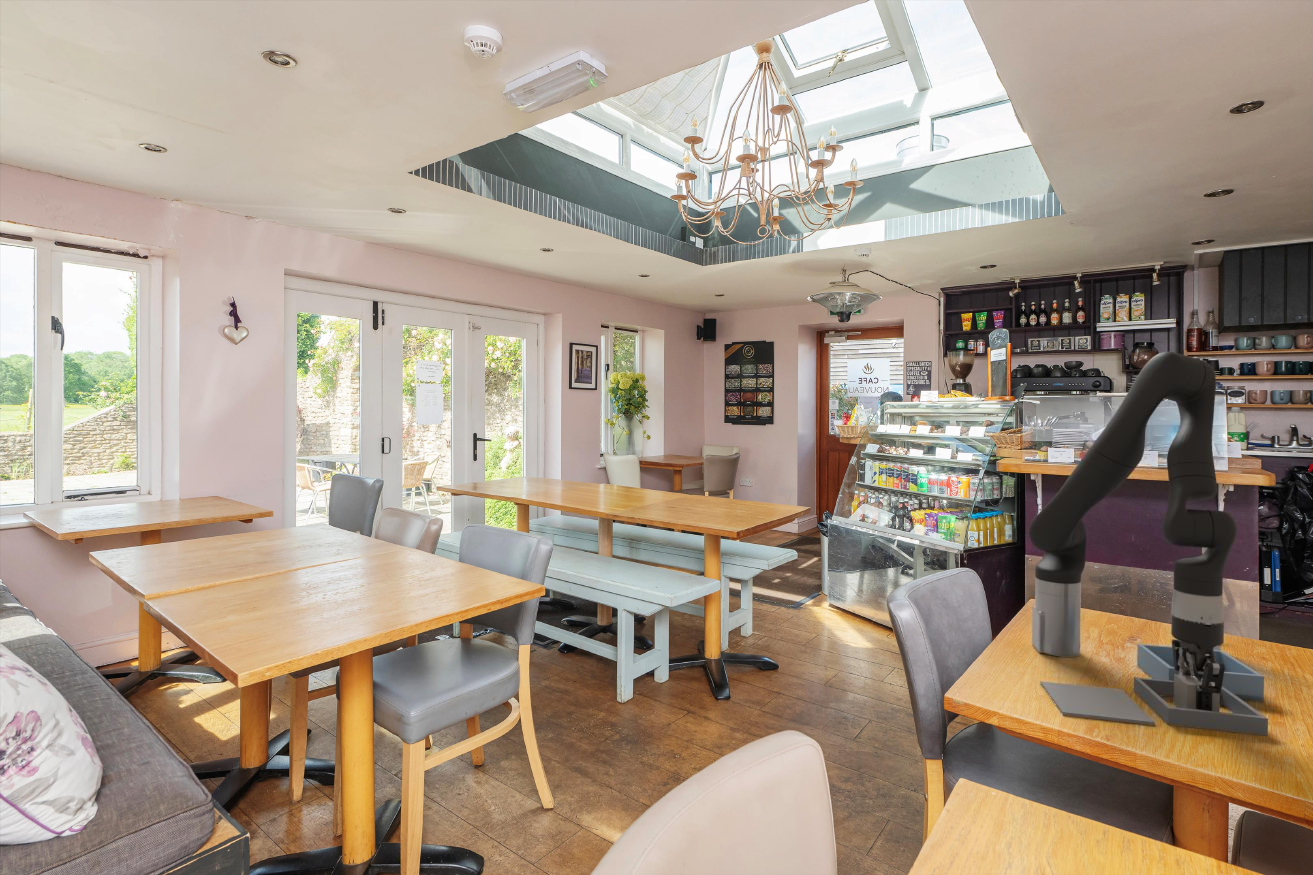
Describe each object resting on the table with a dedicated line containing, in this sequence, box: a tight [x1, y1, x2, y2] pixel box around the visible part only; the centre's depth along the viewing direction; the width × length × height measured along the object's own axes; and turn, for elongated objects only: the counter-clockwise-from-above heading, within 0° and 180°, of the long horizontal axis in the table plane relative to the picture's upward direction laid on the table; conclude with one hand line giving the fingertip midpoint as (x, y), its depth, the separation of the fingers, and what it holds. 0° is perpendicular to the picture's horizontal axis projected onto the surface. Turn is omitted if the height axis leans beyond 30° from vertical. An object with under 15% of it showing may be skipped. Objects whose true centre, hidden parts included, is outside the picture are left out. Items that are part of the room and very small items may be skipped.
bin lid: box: [1039, 681, 1156, 726], centre depth 124 cm, size 15×15×1 cm
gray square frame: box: [1133, 676, 1269, 737], centre depth 120 cm, size 15×15×3 cm
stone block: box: [1173, 674, 1221, 712], centre depth 120 cm, size 5×5×6 cm
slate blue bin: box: [1136, 643, 1265, 703], centre depth 133 cm, size 16×15×5 cm
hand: (1196, 704), depth 120 cm, fingers closed on stone block, 5 cm apart
